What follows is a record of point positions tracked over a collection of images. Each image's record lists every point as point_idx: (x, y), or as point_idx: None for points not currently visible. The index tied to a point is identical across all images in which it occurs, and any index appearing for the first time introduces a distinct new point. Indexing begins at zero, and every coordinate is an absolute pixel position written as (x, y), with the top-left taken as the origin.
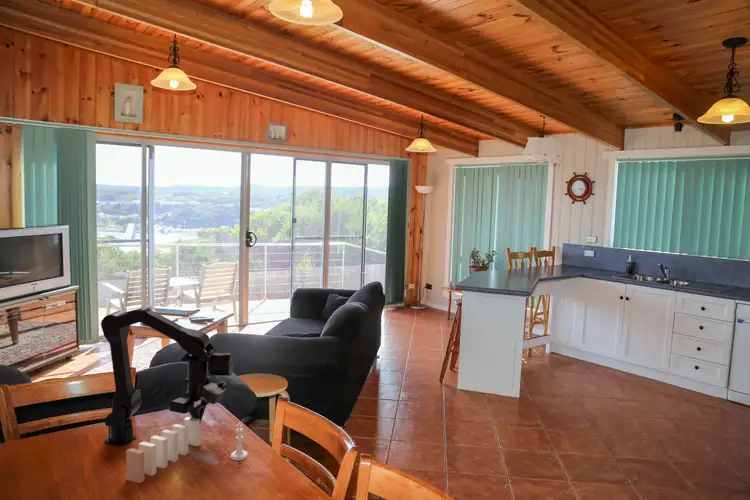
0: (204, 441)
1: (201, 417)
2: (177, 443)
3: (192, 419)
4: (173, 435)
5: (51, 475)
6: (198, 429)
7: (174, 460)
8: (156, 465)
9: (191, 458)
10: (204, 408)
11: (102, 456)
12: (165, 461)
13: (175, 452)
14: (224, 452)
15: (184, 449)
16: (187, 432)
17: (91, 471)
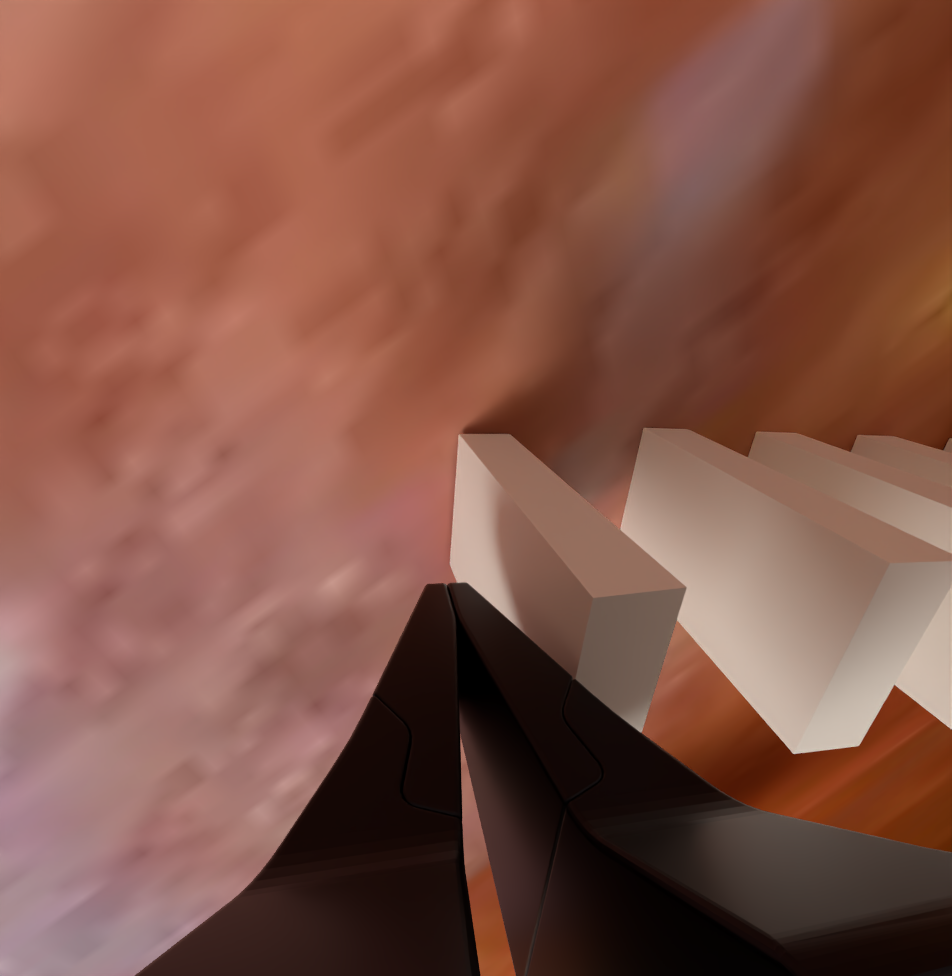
0: (393, 439)
1: (428, 642)
2: (908, 487)
3: (617, 688)
4: None
5: (912, 811)
6: (549, 506)
7: (803, 435)
8: None
9: (735, 332)
10: (370, 807)
11: (750, 801)
12: (923, 451)
13: (852, 456)
14: (554, 14)
15: (721, 447)
16: (824, 517)
17: (893, 732)
